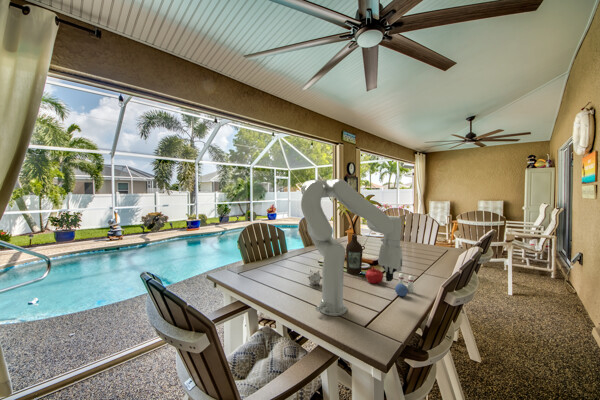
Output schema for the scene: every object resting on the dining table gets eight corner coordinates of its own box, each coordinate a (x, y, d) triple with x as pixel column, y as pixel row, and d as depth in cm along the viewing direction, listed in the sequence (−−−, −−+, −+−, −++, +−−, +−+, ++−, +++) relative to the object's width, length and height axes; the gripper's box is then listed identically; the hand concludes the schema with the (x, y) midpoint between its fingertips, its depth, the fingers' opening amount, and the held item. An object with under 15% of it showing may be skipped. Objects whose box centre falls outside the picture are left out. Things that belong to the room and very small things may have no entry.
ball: (410, 293, 122) (404, 300, 119) (398, 288, 127) (393, 295, 123) (409, 284, 120) (404, 292, 117) (397, 279, 124) (392, 287, 121)
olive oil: (345, 269, 162) (346, 232, 161) (361, 270, 160) (362, 233, 158) (345, 274, 151) (346, 235, 150) (362, 275, 149) (363, 236, 148)
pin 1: (402, 290, 128) (402, 275, 127) (397, 289, 129) (398, 274, 129) (404, 289, 129) (404, 274, 129) (399, 288, 131) (399, 272, 131)
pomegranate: (384, 286, 134) (384, 270, 134) (365, 284, 136) (366, 268, 136) (381, 279, 144) (382, 264, 143) (364, 277, 146) (365, 263, 145)
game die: (316, 292, 134) (316, 282, 128) (304, 284, 138) (304, 274, 132) (324, 280, 139) (325, 271, 133) (313, 273, 143) (313, 263, 137)
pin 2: (412, 293, 124) (412, 277, 124) (407, 292, 126) (407, 276, 125) (413, 292, 126) (414, 276, 125) (408, 290, 128) (409, 275, 127)
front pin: (405, 288, 125) (411, 283, 131) (400, 287, 126) (406, 282, 132) (405, 293, 125) (411, 288, 131) (400, 292, 126) (406, 287, 132)
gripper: (373, 240, 116) (370, 277, 116) (404, 246, 105) (401, 287, 106) (380, 239, 121) (378, 274, 122) (410, 244, 111) (408, 283, 111)
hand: (389, 280), depth 114 cm, fingers closed
